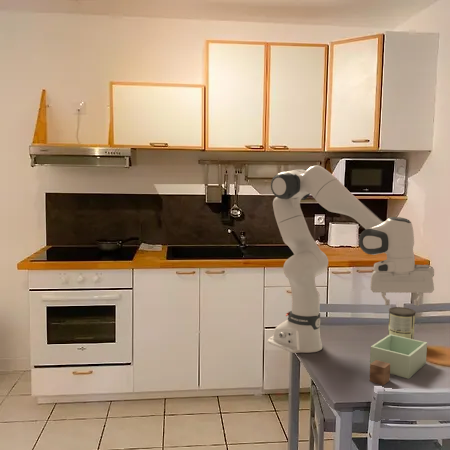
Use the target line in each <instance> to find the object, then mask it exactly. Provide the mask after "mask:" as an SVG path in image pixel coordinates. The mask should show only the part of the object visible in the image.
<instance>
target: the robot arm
mask: <svg viewBox="0 0 450 450" xmlns="http://www.w3.org/2000/svg"><path fill="white" fill-rule="evenodd" d="M270 188H271V192H272V194H273V196H275V197H274V198H273V201H272V207H273V213H274V217H275V221H276V223H277V227H278V229H279V233H280V237H282V238H281V239H282V241H283V243H284V245H286V246H288V247H289V249H290V250H291V252H292V253H293V255H291V256H290V257H288V258H287V259H286V260H285V262H284V263H283V267H282V268H283V274H284V275H285V277H286V278H287V280H288V282H289V286H290V290H291V310H290V311H288V312H287V313H285V317H287V319H286V320H284V321H282V322H281V323H279V324H278V325H277V326H276V327H275V328H274V331H273V335H272V336H270V337H269V338H268V339H267V344H269V345H272V346H275V347H277V348H279V349H282V350H285V351H287V352H290V353H293V354H297V353H298V354H299V353H316V352H319V351H321V350H322V349H323V348H324V347H323V343H322V340H321V333H320V331H321V330H320V327H321V313H320V300H321V295H320V292H319V291H318V289H317V286H316V285H317V284H316V277H318V276H321V275H322V274H323V273H324V272H325V271H326V270H327V268H328V266H329V258H328V256H327V255H326V253H325V252H324V251H323V250H321V249H320V247H319V245H318V244H317V242H316V241H315V239H314V237H313V236H312V234H311V231H310V230H309V227H308V223H307V222H306V219H305V217H304V214H303V211H302V208H301V200H303V201H305V200H306V199H308V198H309V196H312V197H313V199H314V200H315V201H316V202H317V203H318V204H319V205H320V206H321V207H322V208H324V209H325V210H327V211H328V212H331V213H336V214H340V215H345V216H348V217H350V218H352V219H354V220H355V221H356V222H357V223H358V224H360V226H361V227H362V228H364V230H363V231H362V232H361V233H360V234H359V237H358V245H359V248H360V249H361V250H362V251H363V252H364V253H365V254H367V255H372V256H375V255H380V254H381V255H382V254H386V259H384V260H381V261H378V262H374V263H373V271H372V273H371V276H370V291H371V292H372V293H380V294H381V297H382V298H383V300H384V306H391V305H390V303H391V301H390V299H388V298H387V297H386V296H387V293H395V294H396V293H399V294H401V293H406V294H407V293H413V294H414V293H415V294H417V298H416V299H413V302H414V303H413V304H414V306H417V307H418V306H420V301H421V299H422V298H423V296H424V293H426V294H428V293H429V294H430V293H433V292H434V290H435V286H434V285H435V284H434V279H433V278H434V275H435V269H434V268H433V266H431V265H430V264H415V262H416V261H415V257H416V256H415V252H414V245H415V236H414V235H415V234H414V228H413V224H412V221H410V219H407V218H404V217H400V216H399V217H397V216H390V217H388V218H387V219H386V220H385V221H384V220H383V219H381V218H380V217H378V215H377V214H375V213H374V212H373V210H371V209H370V208H369V207H367V206H366V205H365V203H363V202H362V201H360V200H359V199H358V198H357V197H356V196H355V195H354V194H353V193H352V192H350V191H349V190H348V188H347V187H345V186H344V184H343V183H342V182H341V181H340V180H339V179H338V178H337V177H336V176H335V175H334V174H333V173H331V172H330V171H329V170H327V169H326V168H324V167H323V166H321V165H316V164H315V165H313V166H310V167H309V168H307V169H292V170H288V171H282V172H279V173H277V174H276V175H274V176H273V178H272V179H271V182H270Z"/></svg>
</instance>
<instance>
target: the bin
mask: <svg viewBox="0 0 450 450" xmlns="http://www.w3.org/2000/svg"><path fill="white" fill-rule="evenodd" d="M427 348H428V342H427V341H422V340H418V339H414V340H413V339H409V338H405V337H400V336H396V335H391V334H389V335H388V334H387V335H386V336H385V337H384V338H382V339H380V340H378V341H377V342H376V343H374V344H372V345H371V346H370V353H369V365H370V364H371V363H372V362H374V361H375V360H379V361H382V362H386V363H390V375H394V376H397V377H401V378H404V379H407V380H408V379H409V380H410V378H412V376H414V375H415V374H416V373H417V372H418V371H419V370H421V368H423V367H424V366H425V365H426V364H427V354H428V349H427Z"/></svg>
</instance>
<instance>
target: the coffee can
mask: <svg viewBox="0 0 450 450" xmlns="http://www.w3.org/2000/svg"><path fill="white" fill-rule="evenodd" d="M388 311H389V312H388V334H387V336H388V335H389V334H391V335H396V336H400V337H405V338H409V339H413V340H415V324H416V310H414V309H412V308H409V307H404V306H394V307H390V308H389V309H388Z"/></svg>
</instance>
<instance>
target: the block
mask: <svg viewBox="0 0 450 450" xmlns="http://www.w3.org/2000/svg"><path fill="white" fill-rule="evenodd" d="M390 378H391V374H390V363H386V362H382V361H379V360H375V361H374V362H372V363H371V364H370V363H369V379H368V380H369V382H372V383H375V384H378V385H382V386H385V385H386V384H387V383H389V382H390Z"/></svg>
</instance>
